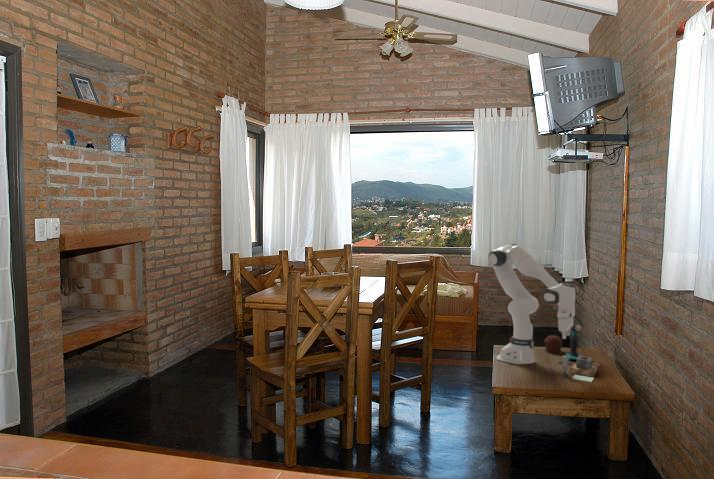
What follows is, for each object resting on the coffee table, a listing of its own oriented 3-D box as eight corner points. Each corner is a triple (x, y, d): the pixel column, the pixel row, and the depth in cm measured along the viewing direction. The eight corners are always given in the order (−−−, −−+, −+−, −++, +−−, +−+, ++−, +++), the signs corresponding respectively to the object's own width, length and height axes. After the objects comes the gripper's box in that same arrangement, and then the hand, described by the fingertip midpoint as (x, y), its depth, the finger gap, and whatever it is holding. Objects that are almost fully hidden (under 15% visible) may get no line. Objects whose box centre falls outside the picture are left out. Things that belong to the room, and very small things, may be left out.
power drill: (586, 366, 332) (587, 324, 330) (570, 365, 333) (571, 323, 332) (578, 354, 357) (579, 315, 355) (563, 353, 359) (564, 314, 357)
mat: (571, 379, 307) (571, 378, 307) (574, 375, 314) (574, 374, 314) (591, 382, 302) (591, 381, 302) (594, 378, 308) (594, 377, 308)
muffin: (563, 354, 359) (563, 338, 358) (545, 352, 361) (545, 337, 360) (561, 349, 370) (561, 334, 369) (543, 348, 373) (543, 333, 372)
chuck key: (557, 374, 316) (557, 355, 315) (558, 373, 318) (558, 354, 317) (571, 376, 312) (571, 357, 311) (572, 375, 314) (572, 356, 313)
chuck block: (570, 373, 318) (570, 359, 317) (575, 367, 328) (575, 354, 327) (597, 377, 310) (597, 363, 310) (600, 371, 320) (601, 358, 320)
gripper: (564, 308, 323) (564, 332, 324) (556, 314, 306) (555, 339, 307) (576, 309, 320) (576, 334, 320) (568, 315, 302) (567, 341, 303)
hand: (566, 337), depth 313 cm, fingers open, 8 cm apart
